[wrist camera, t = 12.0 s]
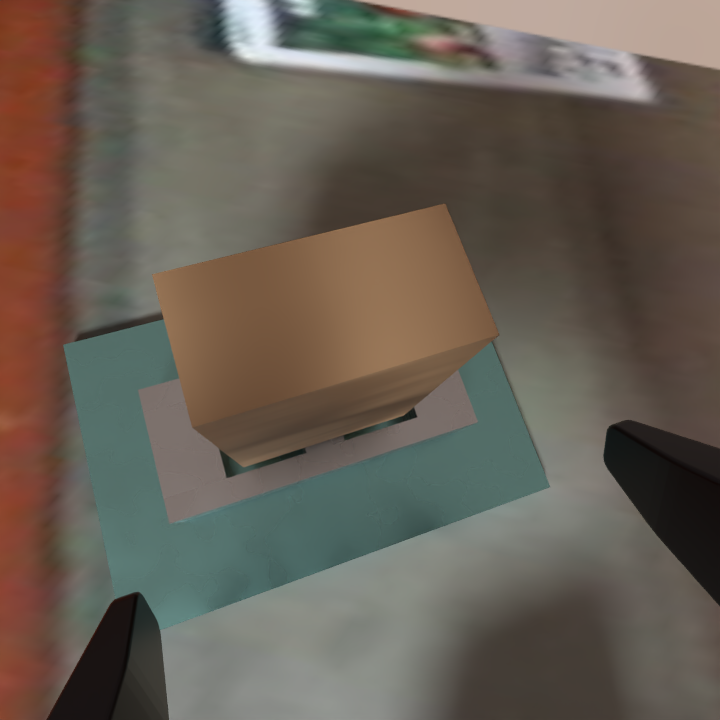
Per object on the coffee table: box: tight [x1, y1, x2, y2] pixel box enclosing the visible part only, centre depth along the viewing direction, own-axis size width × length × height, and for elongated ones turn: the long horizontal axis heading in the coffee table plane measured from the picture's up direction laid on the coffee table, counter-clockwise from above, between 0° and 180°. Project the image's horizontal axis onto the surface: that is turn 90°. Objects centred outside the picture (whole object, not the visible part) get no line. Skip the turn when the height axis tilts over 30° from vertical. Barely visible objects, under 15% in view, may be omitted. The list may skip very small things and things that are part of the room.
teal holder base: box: [64, 319, 550, 630], centre depth 22 cm, size 18×12×3 cm, turn 108°
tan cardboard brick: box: [152, 204, 499, 467], centre depth 16 cm, size 6×3×13 cm, turn 109°
